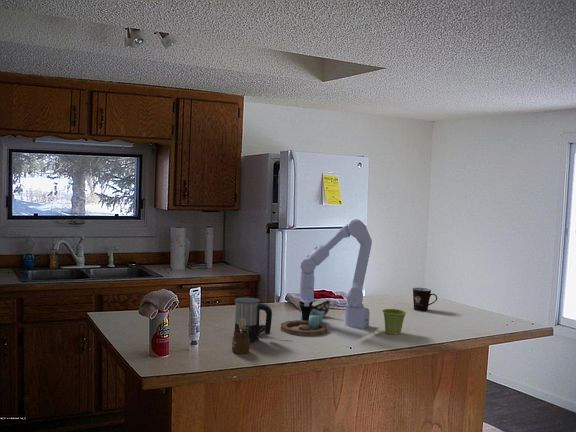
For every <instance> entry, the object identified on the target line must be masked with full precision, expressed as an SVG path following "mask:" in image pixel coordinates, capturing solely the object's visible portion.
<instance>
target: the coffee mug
mask: <svg viewBox="0 0 576 432" xmlns="http://www.w3.org/2000/svg"><path fill="white" fill-rule="evenodd" d="M431 296H434V297H435V300H434V301H433V302H431V303H430V298H431ZM412 298H413V299H412V300H413V311H416V312H428V310H429V306H431V305H433V304H435V303H436V302H437V301H438V296H437V294H436V293H432V289H431V288H427V287H417V286H416V287H413V288H412Z"/></svg>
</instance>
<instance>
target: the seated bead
mask: <svg viewBox="0 0 576 432" xmlns="http://www.w3.org/2000/svg"><path fill="white" fill-rule="evenodd" d="M309 329H310V330H318V329H319V316H317V315H310V316H309Z"/></svg>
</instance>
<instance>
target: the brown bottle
mask: <svg viewBox="0 0 576 432" xmlns="http://www.w3.org/2000/svg"><path fill="white" fill-rule="evenodd" d="M240 321H241V325H240ZM242 321H243V323H242ZM244 321H246V320H244V319H241V320H240V319H239V329H240V328H241V329H240V330H235V329H234V330H233V336H232V343H231V350H232V351H231V352H232V353H234V354H238V355H243V354H248V353H249V352H250V343H251V342H250V339H249V332H248V331H247V330H245V329H244V330H242V328H244V327H246V326H244Z"/></svg>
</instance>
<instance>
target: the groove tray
mask: <svg viewBox="0 0 576 432" xmlns="http://www.w3.org/2000/svg"><path fill="white" fill-rule="evenodd" d="M280 330H281V331H282V333H286V334H289V335H293V336H294V335H295V336H300V337H301V336H302V337H303V336H304V337H315V336H323V335H325V334H327V333H328V326H327V325H326V324H324V323H323V322H322V323H319V329H318V330H310V329H309V321H304V320H301V319H300V320H299V319H297V320H296V319H295V320H287V321H284V322H281V323H280Z"/></svg>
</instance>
